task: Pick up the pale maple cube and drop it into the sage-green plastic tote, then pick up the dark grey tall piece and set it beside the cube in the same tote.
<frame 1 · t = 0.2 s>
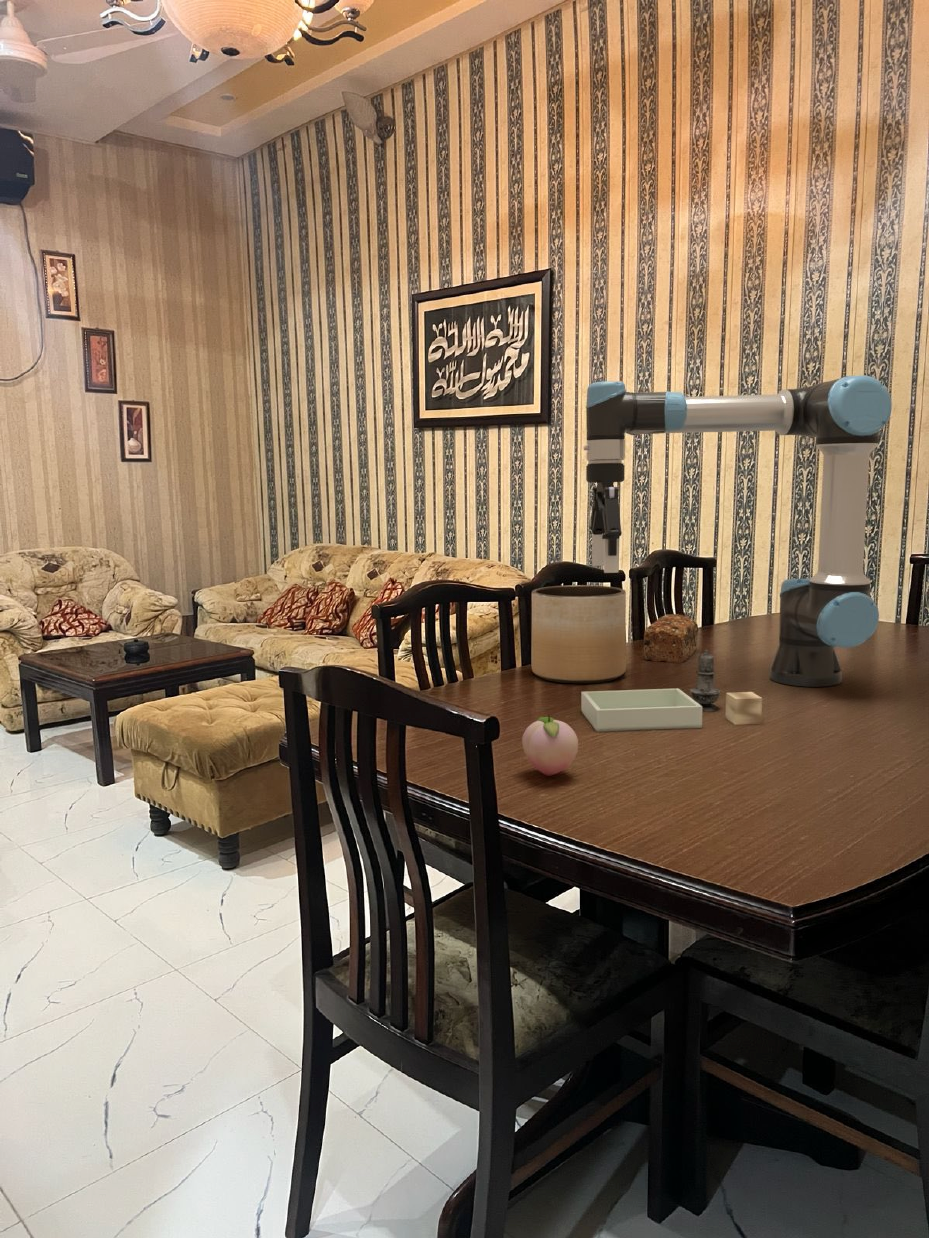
hand: (604, 569, 181), 28 cm above the table, fingers open, 13 cm apart
dark grey tall piece: (704, 709, 180), on the table
tote: (639, 719, 172), on the table
bread: (671, 656, 232), on the table
planter: (578, 675, 212), on the table
decorative fruit: (551, 776, 141), on the table
maple cube: (743, 721, 170), on the table
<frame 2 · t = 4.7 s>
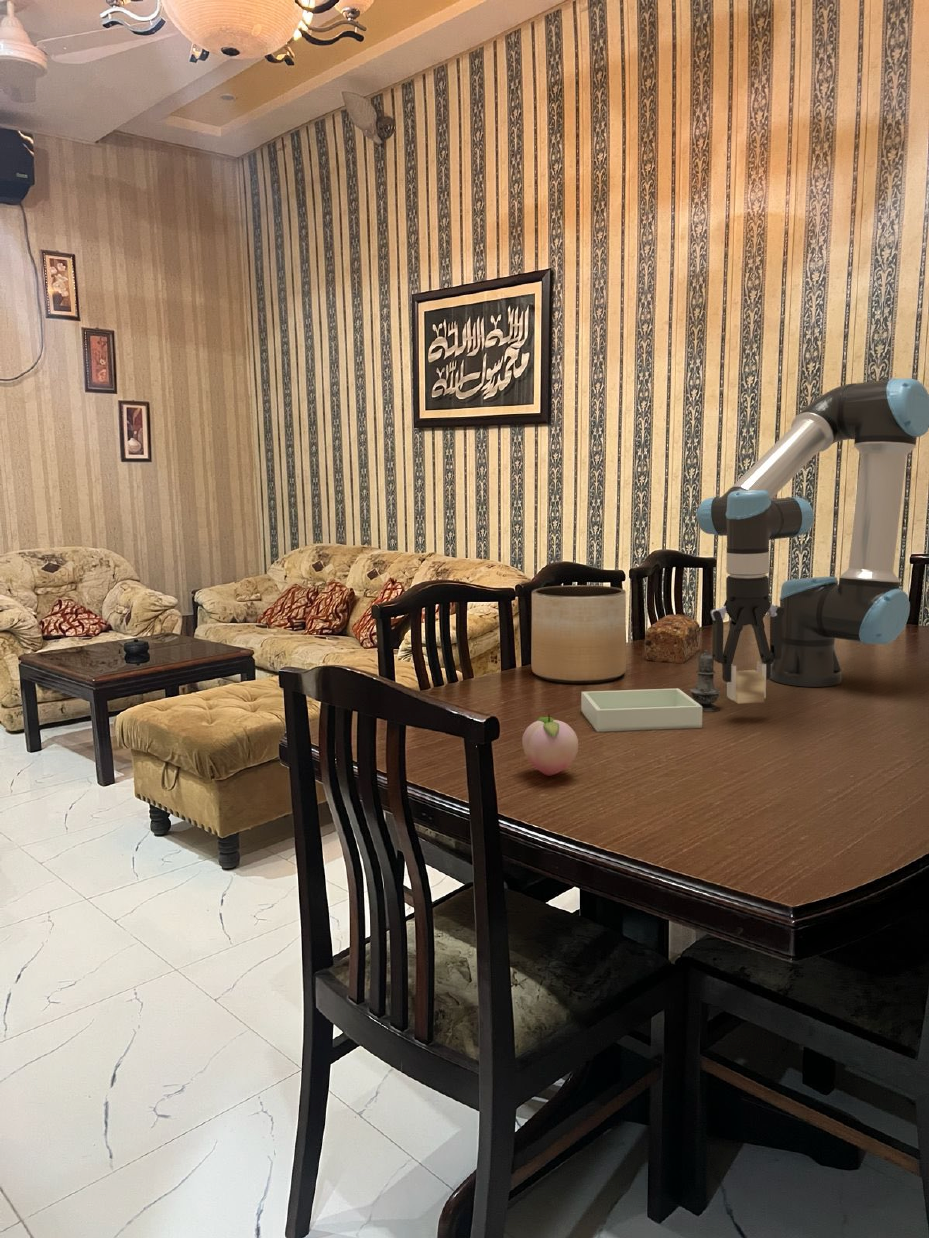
hand: (746, 696, 170), 4 cm above the table, fingers closed on maple cube, 5 cm apart
maple cube: (746, 699, 170), point 4 cm above the table, touching gripper
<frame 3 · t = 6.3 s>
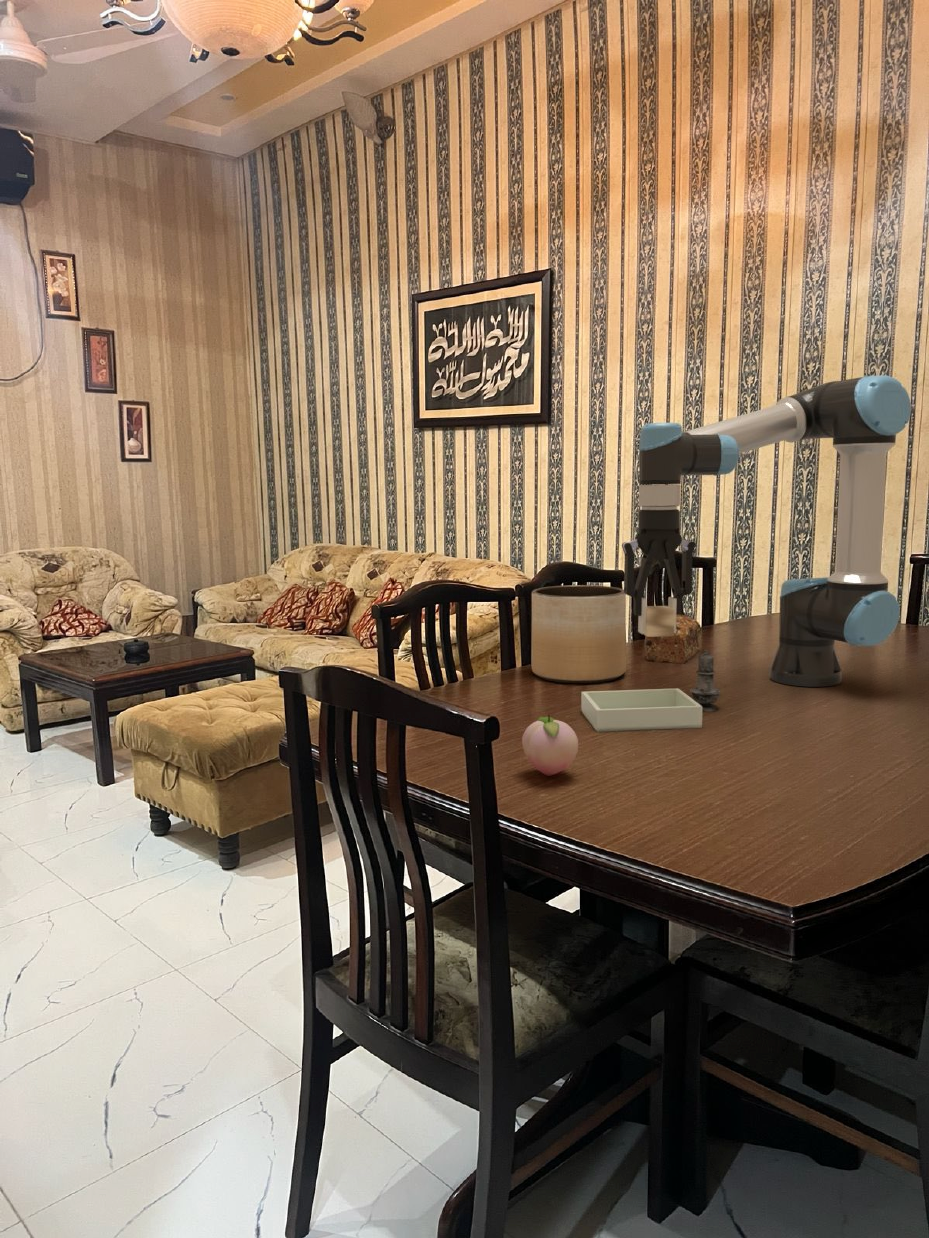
hand: (657, 632, 170), 17 cm above the table, fingers closed on maple cube, 5 cm apart
maple cube: (657, 634, 170), point 16 cm above the table, touching gripper
everything else where it was.
when the fingers open (4 cm above the table, at t = 8.0 s): maple cube drops 3 cm, resting on tote.
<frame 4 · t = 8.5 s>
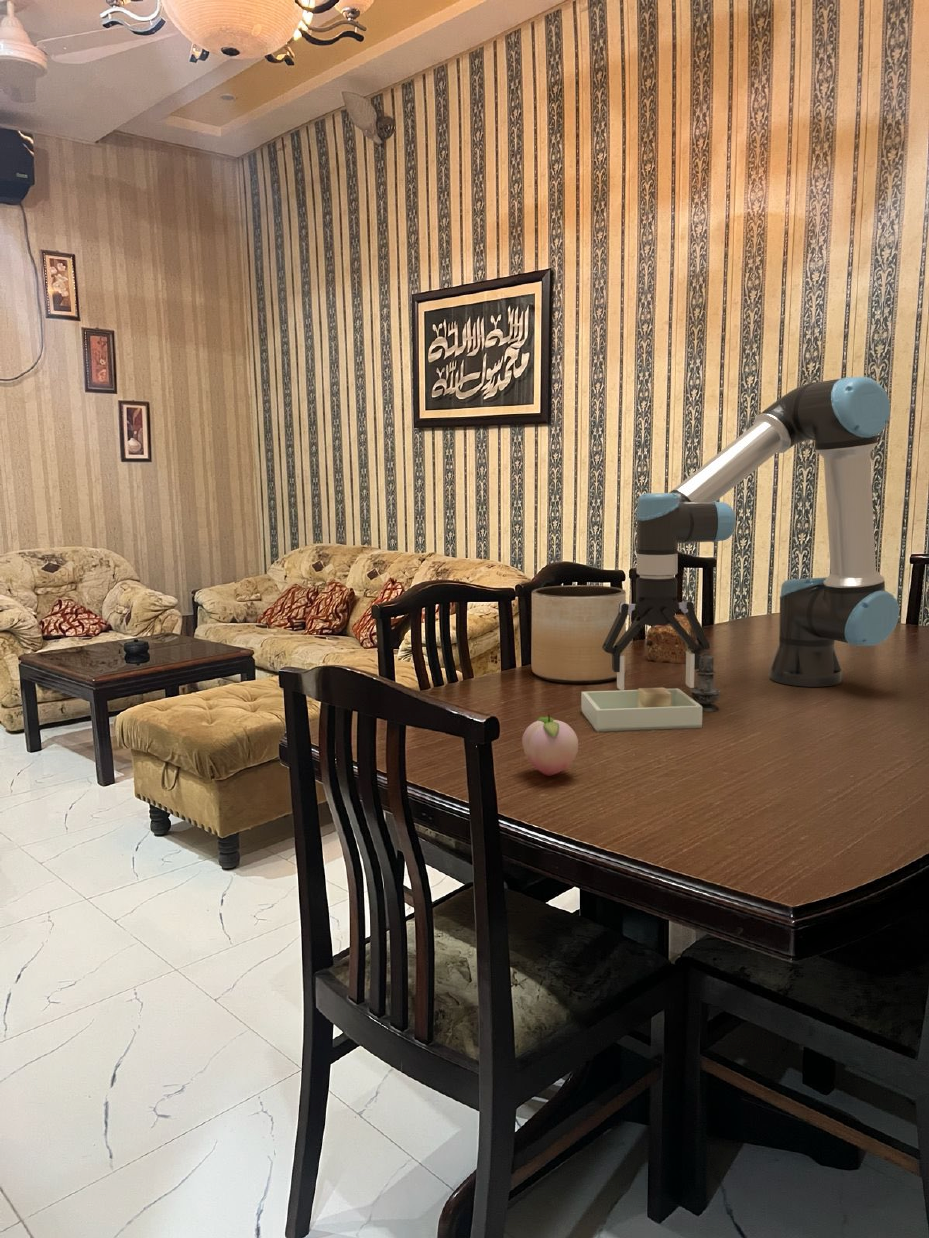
hand: (655, 687, 172), 6 cm above the table, fingers open, 13 cm apart
maple cube: (654, 716, 172), resting on tote
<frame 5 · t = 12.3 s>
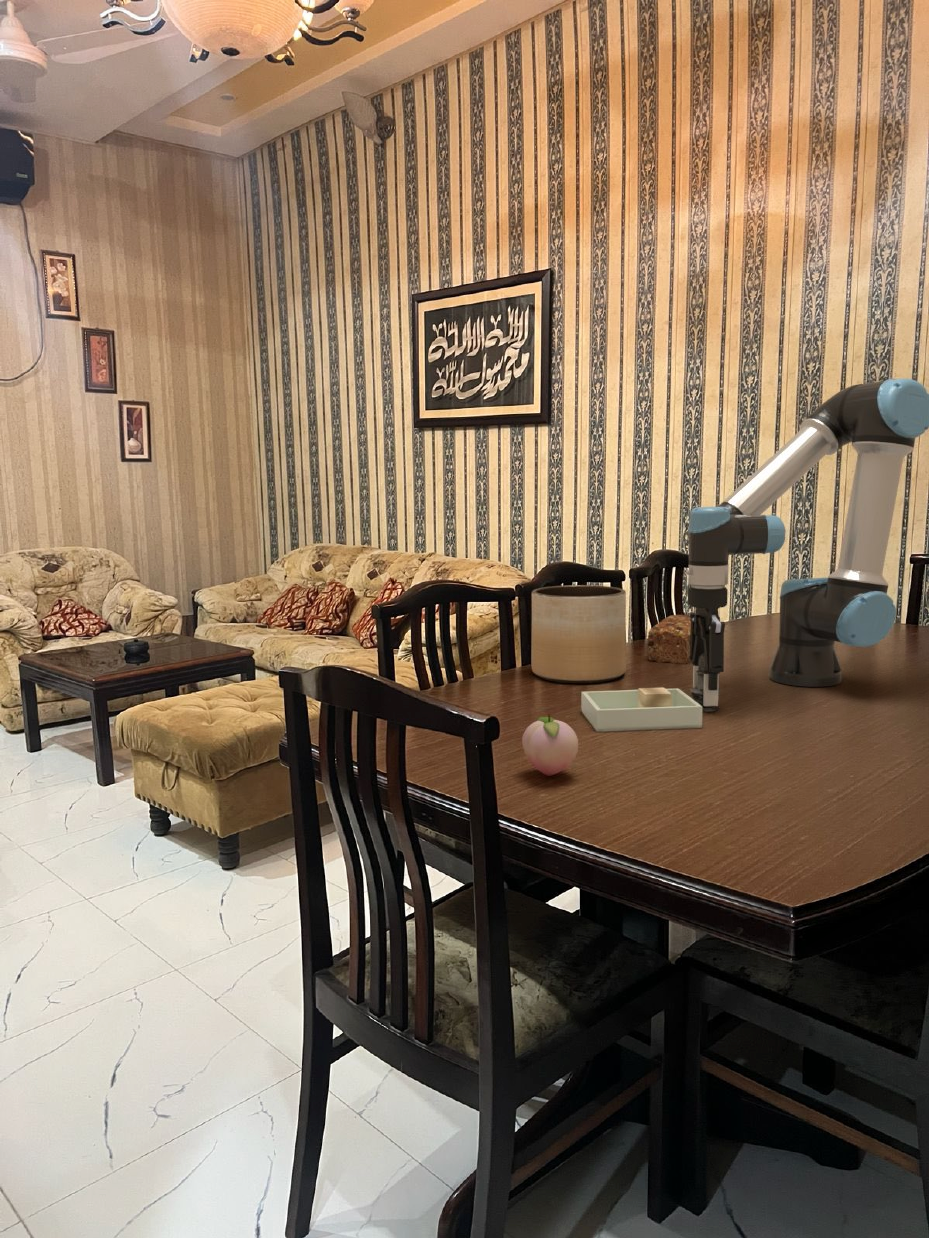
hand: (705, 701, 179), 1 cm above the table, fingers closed on dark grey tall piece, 6 cm apart
dark grey tall piece: (704, 708, 180), on the table, touching gripper
when the fingers open (5 cm above the table, at t = 16.9 s): dark grey tall piece drops 2 cm, resting on tote.
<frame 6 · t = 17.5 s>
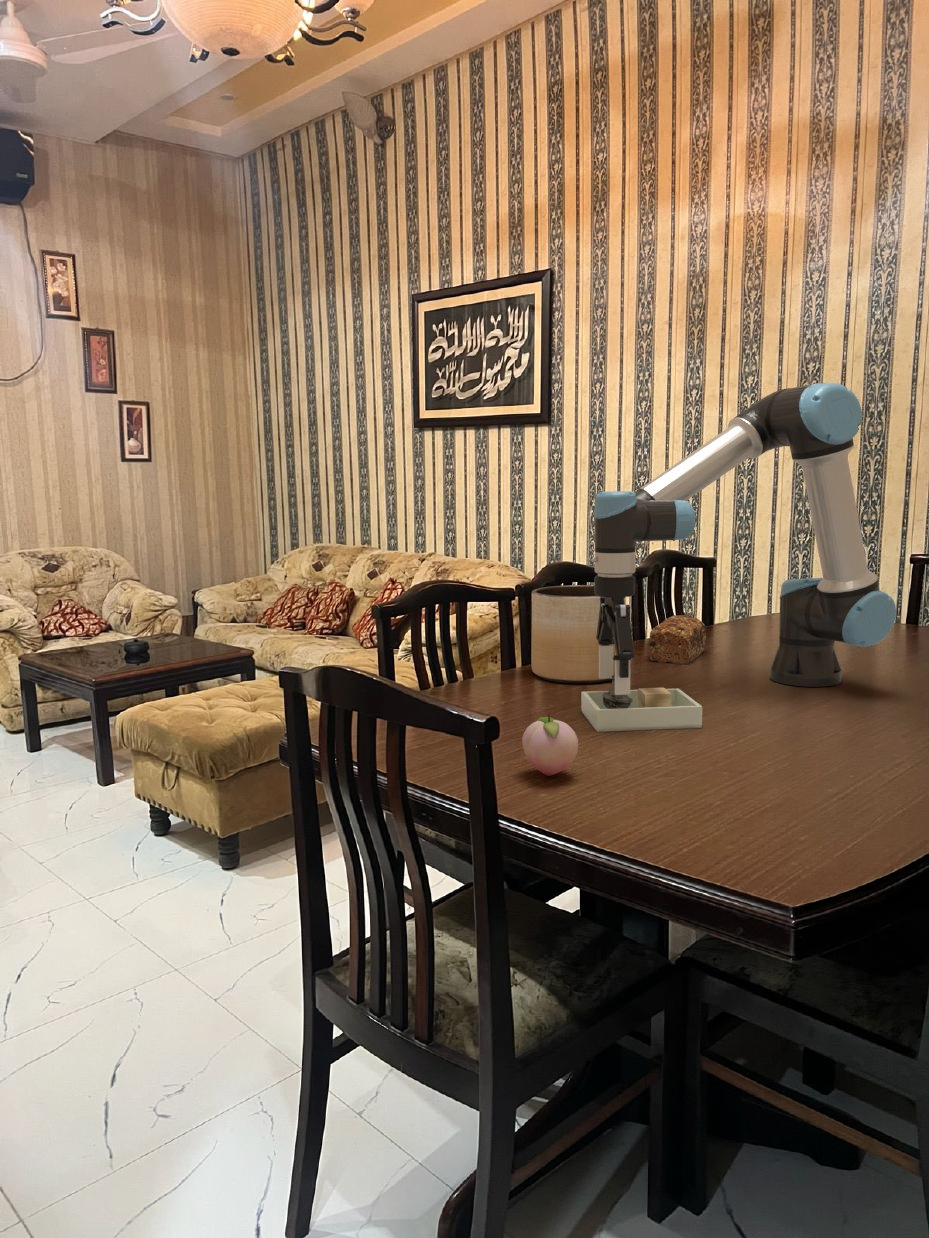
hand: (613, 686, 171), 7 cm above the table, fingers open, 13 cm apart
dark grey tall piece: (613, 716, 172), point 1 cm above the table, touching tote
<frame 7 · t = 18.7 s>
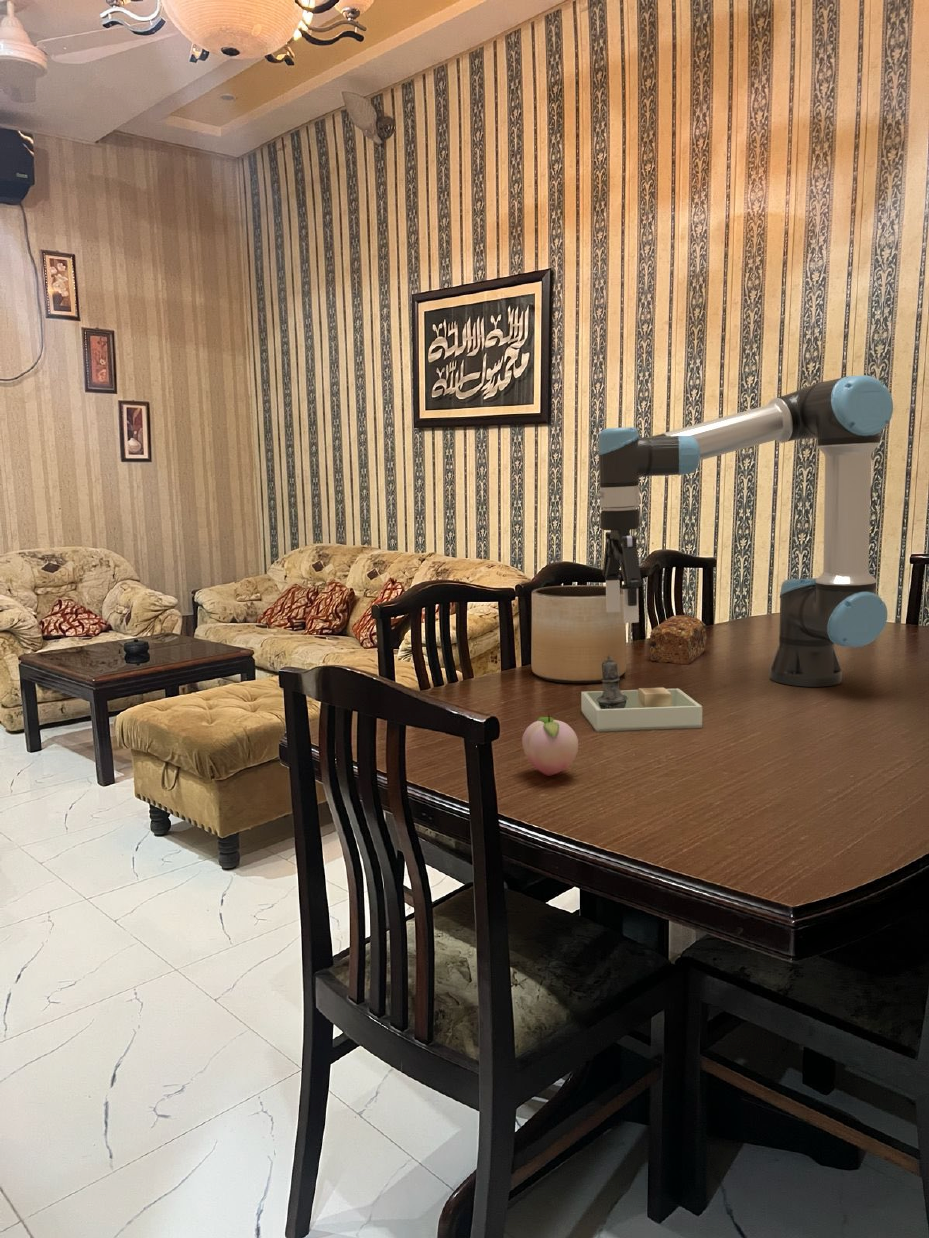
hand: (622, 617, 178), 19 cm above the table, fingers open, 13 cm apart
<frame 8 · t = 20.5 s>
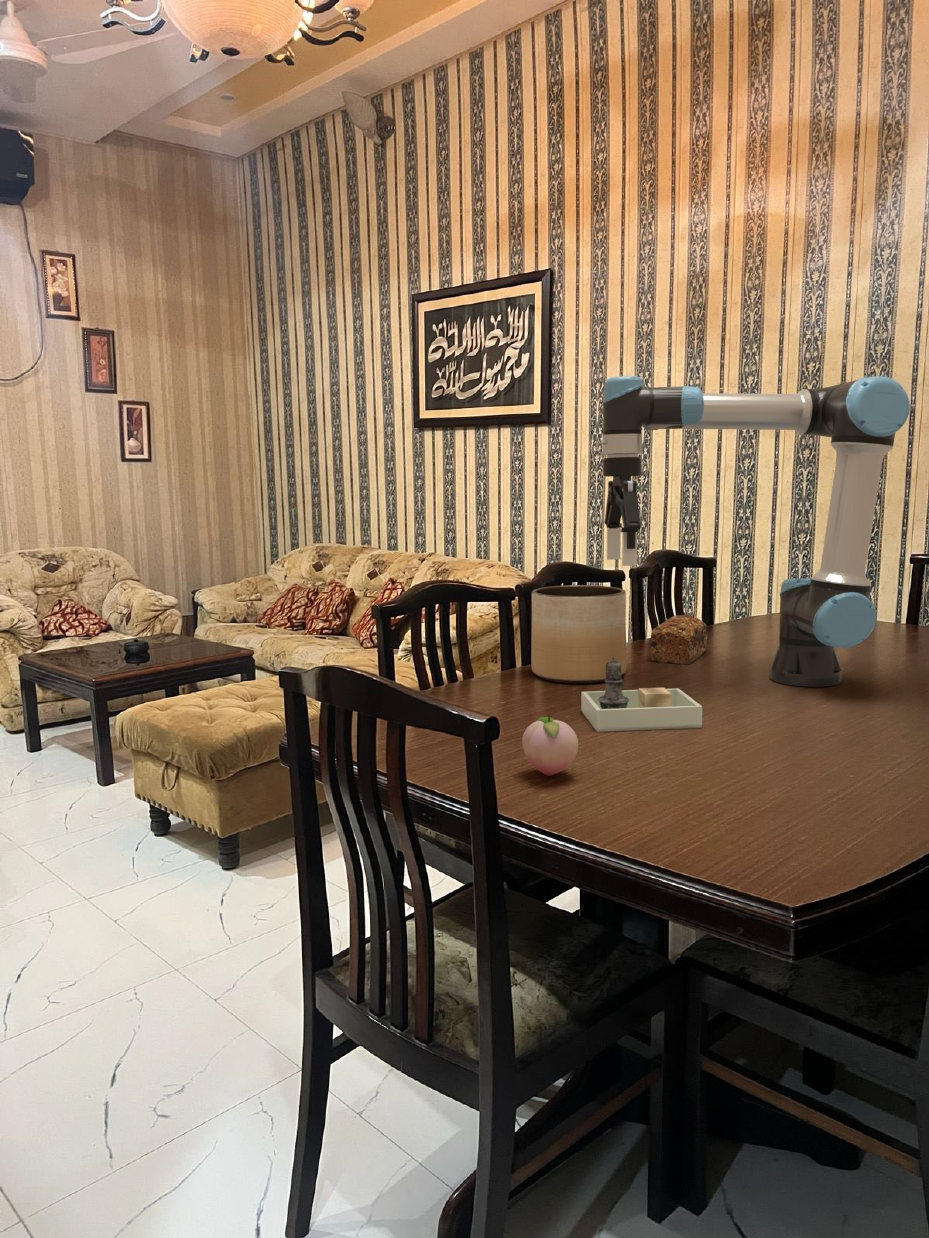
hand: (621, 562, 183), 29 cm above the table, fingers open, 13 cm apart
at the end: maple cube inside the target area on the tote (2.8 cm from its centre), point 0.5 cm above the tote's base; dark grey tall piece inside the target area on the tote (5.0 cm from its centre), point 0.3 cm above the tote's base; the gripper is holding nothing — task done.
